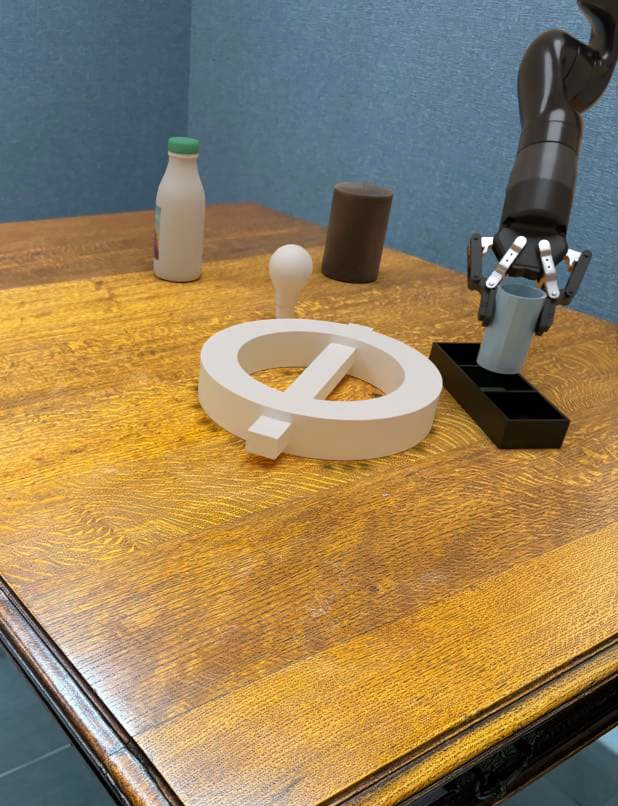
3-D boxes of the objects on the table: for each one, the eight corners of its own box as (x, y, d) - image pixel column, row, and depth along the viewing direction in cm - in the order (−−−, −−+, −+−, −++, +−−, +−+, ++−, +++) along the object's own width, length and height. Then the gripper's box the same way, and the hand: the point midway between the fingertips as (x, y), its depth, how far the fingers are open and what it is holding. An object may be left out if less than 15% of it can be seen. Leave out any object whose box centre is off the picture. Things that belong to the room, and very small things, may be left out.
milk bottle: (209, 275, 132) (219, 140, 120) (183, 286, 127) (191, 146, 115) (171, 264, 135) (177, 132, 124) (143, 275, 130) (147, 137, 118)
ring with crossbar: (360, 346, 112) (367, 313, 109) (480, 444, 91) (492, 406, 88) (167, 361, 103) (169, 325, 100) (251, 474, 82) (256, 432, 79)
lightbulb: (292, 334, 114) (303, 254, 108) (254, 323, 116) (263, 244, 110) (311, 322, 118) (323, 245, 112) (274, 311, 121) (284, 235, 114)
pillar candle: (350, 286, 133) (367, 189, 124) (309, 269, 139) (322, 175, 130) (389, 278, 138) (408, 184, 129) (348, 261, 144) (363, 171, 135)
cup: (509, 355, 100) (532, 283, 94) (530, 374, 95) (555, 299, 90) (469, 355, 99) (489, 281, 94) (488, 374, 95) (510, 298, 89)
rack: (479, 367, 110) (486, 342, 107) (560, 448, 92) (571, 420, 90) (426, 366, 108) (432, 341, 106) (498, 449, 91) (508, 421, 89)
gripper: (483, 167, 93) (454, 302, 90) (614, 185, 90) (589, 325, 88) (471, 205, 100) (444, 332, 97) (592, 223, 98) (567, 353, 95)
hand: (513, 328), depth 93 cm, fingers closed on cup, 5 cm apart
